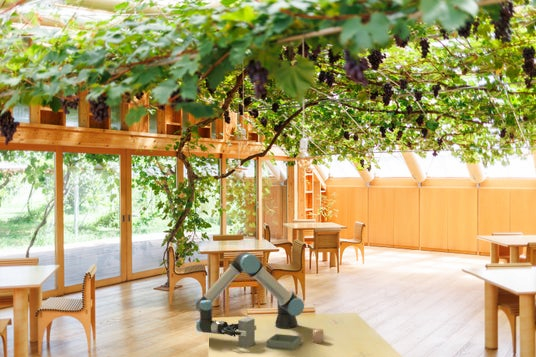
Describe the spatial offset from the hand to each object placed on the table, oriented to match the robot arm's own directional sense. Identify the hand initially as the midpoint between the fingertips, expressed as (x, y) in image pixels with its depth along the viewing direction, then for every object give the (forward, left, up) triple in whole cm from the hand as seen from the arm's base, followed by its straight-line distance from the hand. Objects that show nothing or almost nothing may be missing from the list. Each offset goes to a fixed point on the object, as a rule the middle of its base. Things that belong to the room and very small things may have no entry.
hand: (251, 330), depth 301 cm
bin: (+18, +8, -9) cm, 21 cm away
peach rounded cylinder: (+35, +21, -9) cm, 42 cm away
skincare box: (-3, 0, -9) cm, 10 cm away
